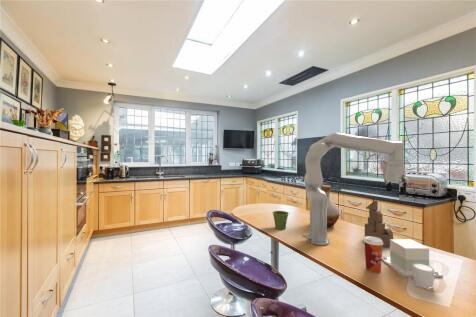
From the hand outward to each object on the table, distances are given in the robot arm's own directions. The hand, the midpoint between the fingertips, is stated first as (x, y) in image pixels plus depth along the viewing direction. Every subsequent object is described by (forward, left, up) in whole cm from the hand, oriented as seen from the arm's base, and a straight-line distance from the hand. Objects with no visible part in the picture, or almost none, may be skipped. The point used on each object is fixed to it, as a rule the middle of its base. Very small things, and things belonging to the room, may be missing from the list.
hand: (395, 192), depth 123 cm
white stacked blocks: (-13, -26, -30) cm, 42 cm away
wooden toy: (-9, +4, -30) cm, 32 cm away
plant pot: (-63, +28, -30) cm, 75 cm away
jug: (-29, +34, -30) cm, 54 cm away
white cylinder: (-17, -39, -30) cm, 53 cm away
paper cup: (-30, -29, -30) cm, 51 cm away
